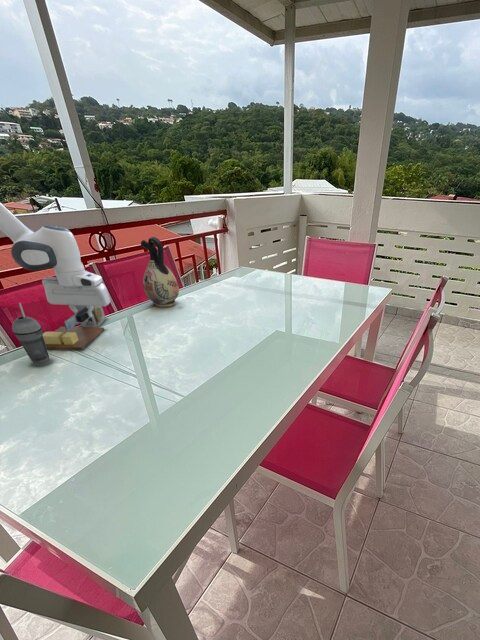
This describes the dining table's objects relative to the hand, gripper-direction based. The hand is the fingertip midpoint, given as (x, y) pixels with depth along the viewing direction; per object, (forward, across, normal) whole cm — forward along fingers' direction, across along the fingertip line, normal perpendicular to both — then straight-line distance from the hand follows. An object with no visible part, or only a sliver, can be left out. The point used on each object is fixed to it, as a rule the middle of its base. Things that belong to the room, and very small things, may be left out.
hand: (84, 316), depth 122 cm
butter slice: (+6, -2, -9) cm, 11 cm away
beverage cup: (+8, -5, -22) cm, 24 cm away
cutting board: (+8, -5, -4) cm, 10 cm away
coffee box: (+8, -4, +12) cm, 15 cm away
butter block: (+6, -8, -9) cm, 13 cm away
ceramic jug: (+8, +18, +37) cm, 42 cm away
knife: (0, 0, -4) cm, 4 cm away
